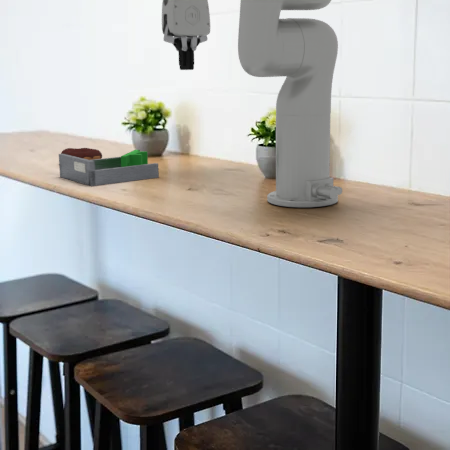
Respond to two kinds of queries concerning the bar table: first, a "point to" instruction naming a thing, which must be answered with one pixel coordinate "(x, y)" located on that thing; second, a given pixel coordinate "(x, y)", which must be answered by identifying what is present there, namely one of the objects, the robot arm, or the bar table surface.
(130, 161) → the green stepped block
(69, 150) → the donut
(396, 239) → the bar table surface
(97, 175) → the grey tray
